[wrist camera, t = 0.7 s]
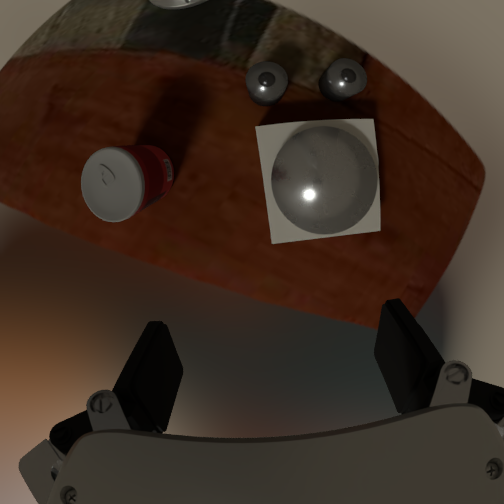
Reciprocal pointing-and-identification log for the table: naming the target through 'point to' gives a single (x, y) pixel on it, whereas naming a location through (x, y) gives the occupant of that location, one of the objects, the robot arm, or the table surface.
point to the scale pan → (324, 180)
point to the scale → (269, 147)
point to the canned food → (125, 180)
